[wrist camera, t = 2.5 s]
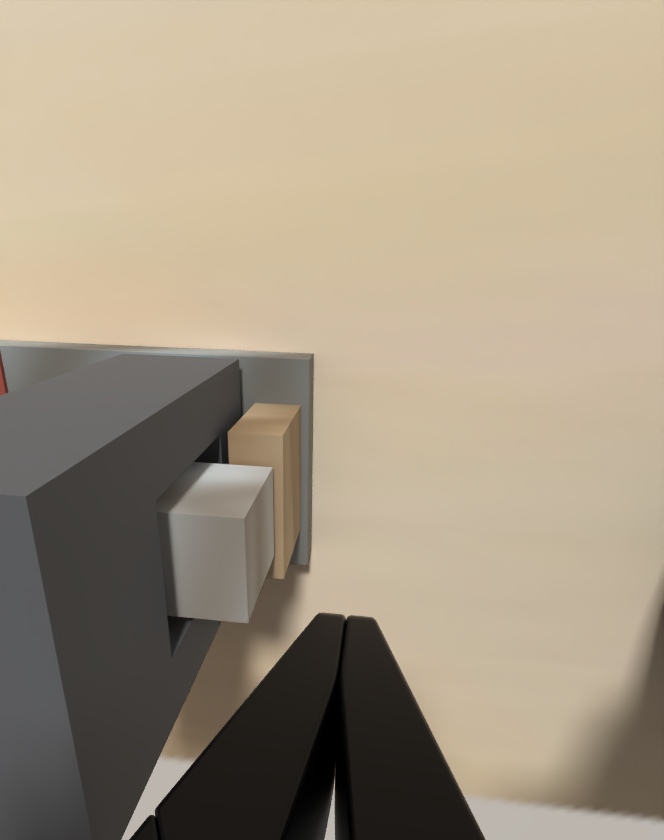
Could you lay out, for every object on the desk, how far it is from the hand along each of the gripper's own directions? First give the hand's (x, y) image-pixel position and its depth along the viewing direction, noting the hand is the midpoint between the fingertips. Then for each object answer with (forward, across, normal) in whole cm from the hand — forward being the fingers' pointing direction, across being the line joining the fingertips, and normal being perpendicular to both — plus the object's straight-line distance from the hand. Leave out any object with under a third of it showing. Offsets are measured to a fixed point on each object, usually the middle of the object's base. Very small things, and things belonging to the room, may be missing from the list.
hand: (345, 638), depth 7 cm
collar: (+6, +5, 0) cm, 7 cm away
